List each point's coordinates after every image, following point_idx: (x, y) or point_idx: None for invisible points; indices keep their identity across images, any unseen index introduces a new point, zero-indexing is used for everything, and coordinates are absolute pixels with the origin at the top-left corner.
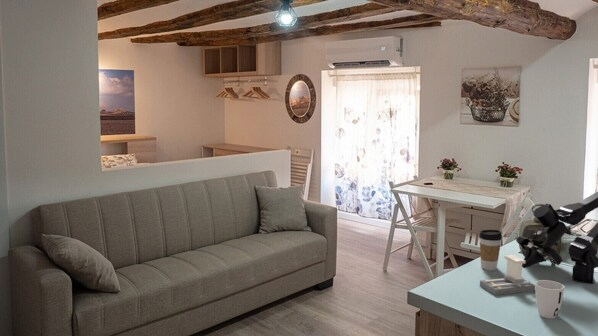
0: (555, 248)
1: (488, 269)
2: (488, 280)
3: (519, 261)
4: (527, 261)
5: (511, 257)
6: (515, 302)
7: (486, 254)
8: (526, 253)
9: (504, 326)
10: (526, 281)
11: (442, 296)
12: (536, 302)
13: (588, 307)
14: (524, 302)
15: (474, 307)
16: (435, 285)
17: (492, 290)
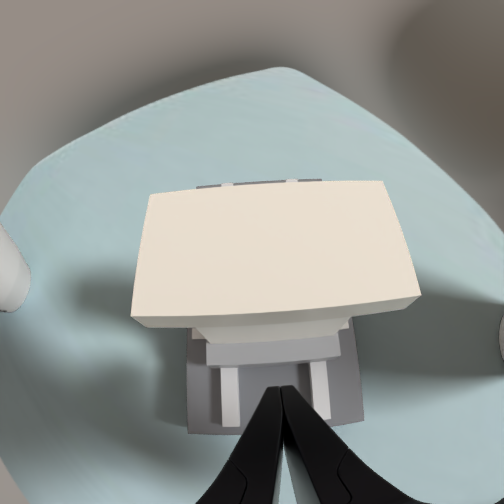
0: None
1: (501, 325)
2: None
3: (145, 232)
4: (245, 435)
5: (302, 210)
6: (112, 244)
7: None
8: (383, 493)
9: (48, 157)
10: (235, 406)
11: (242, 91)
12: (8, 234)
13: (14, 469)
14: (98, 278)
15: (147, 126)
16: (326, 99)
17: None
